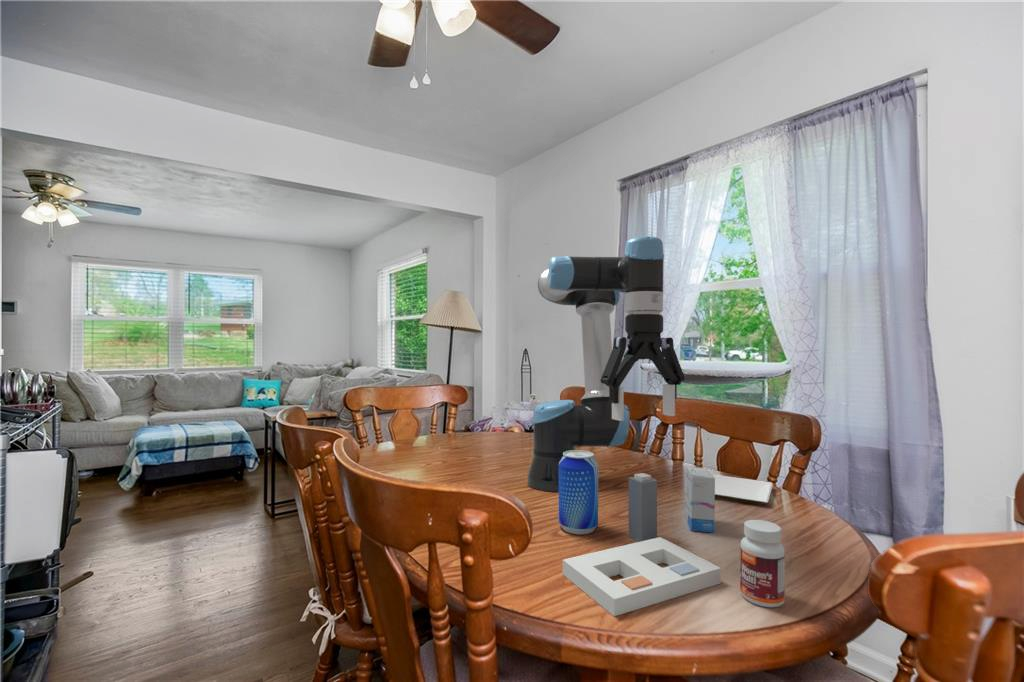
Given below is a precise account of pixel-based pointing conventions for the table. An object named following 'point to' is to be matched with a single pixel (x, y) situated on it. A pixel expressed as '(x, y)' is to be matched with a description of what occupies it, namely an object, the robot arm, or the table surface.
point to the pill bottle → (762, 564)
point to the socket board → (640, 574)
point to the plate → (742, 489)
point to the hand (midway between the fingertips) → (644, 417)
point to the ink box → (699, 499)
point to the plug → (642, 507)
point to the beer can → (578, 492)
